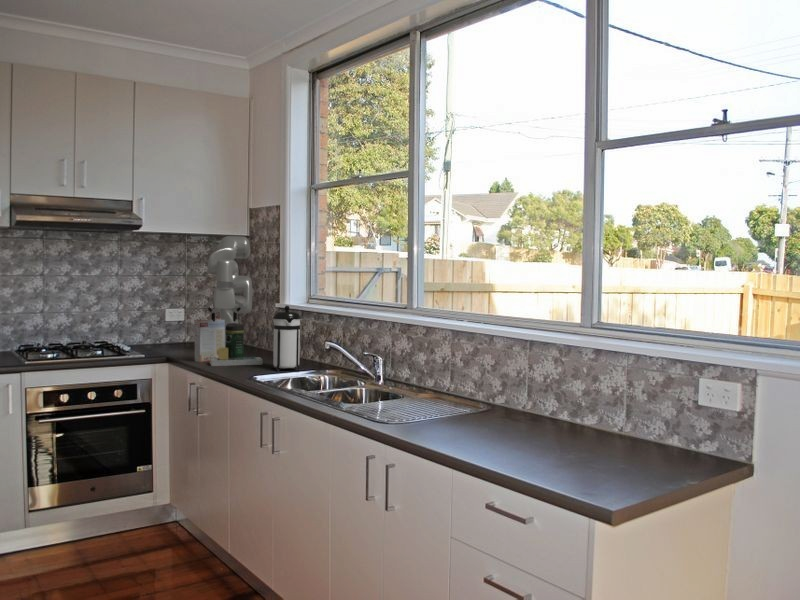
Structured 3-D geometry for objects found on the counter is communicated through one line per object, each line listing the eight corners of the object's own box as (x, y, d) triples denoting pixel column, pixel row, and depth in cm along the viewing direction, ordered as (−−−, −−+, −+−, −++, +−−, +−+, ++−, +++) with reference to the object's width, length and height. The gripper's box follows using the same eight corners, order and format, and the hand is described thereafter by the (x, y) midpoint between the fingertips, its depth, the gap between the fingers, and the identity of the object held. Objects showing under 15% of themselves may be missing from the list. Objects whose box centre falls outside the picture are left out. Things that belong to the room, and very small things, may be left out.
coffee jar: (246, 359, 369) (246, 323, 368) (232, 361, 364) (233, 324, 363) (236, 357, 376) (236, 322, 375) (222, 359, 370) (223, 322, 370)
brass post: (218, 363, 349) (218, 347, 348) (227, 363, 350) (227, 347, 350) (219, 365, 345) (219, 348, 344) (228, 364, 346) (228, 348, 346)
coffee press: (310, 369, 341) (311, 305, 340) (288, 373, 327) (289, 306, 326) (281, 365, 350) (282, 304, 349) (259, 369, 336) (260, 305, 335)
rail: (209, 364, 349) (209, 358, 349) (259, 363, 357) (259, 356, 357) (211, 366, 342) (211, 360, 341) (262, 365, 350) (262, 358, 350)
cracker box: (218, 359, 367) (219, 318, 366) (225, 361, 363) (225, 319, 362) (193, 362, 357) (194, 319, 356) (199, 363, 353) (200, 320, 352)
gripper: (241, 285, 353) (241, 320, 353) (205, 285, 347) (204, 320, 347) (243, 286, 346) (243, 321, 346) (206, 285, 340) (206, 321, 340)
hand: (224, 321), depth 347 cm, fingers open, 9 cm apart
